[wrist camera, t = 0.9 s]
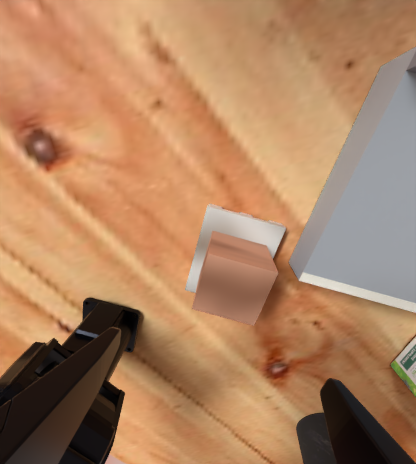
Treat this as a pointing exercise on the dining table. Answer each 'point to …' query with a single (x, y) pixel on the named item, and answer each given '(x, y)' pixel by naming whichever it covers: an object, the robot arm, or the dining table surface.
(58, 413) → the robot arm
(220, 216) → the pallet
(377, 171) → the dock
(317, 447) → the travel mug
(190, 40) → the dining table surface
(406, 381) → the syrup box
